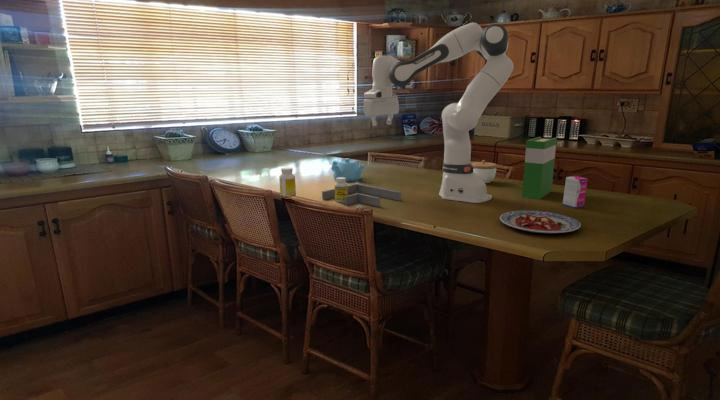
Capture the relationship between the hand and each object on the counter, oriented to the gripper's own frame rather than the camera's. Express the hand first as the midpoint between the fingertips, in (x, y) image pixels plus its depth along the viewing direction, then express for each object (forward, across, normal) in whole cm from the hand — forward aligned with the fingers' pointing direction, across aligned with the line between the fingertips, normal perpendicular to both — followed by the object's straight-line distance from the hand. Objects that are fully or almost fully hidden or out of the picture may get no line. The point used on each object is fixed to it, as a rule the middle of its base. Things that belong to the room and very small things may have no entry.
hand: (381, 125), depth 210 cm
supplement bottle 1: (+29, +40, -18) cm, 53 cm away
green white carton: (+29, -38, +57) cm, 75 cm away
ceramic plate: (+30, +7, +77) cm, 83 cm away
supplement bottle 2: (+29, +28, +2) cm, 41 cm away
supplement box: (+29, -28, +76) cm, 86 cm away
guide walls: (+29, +21, +7) cm, 37 cm away
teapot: (+29, -5, -27) cm, 40 cm away
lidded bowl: (+29, -44, +27) cm, 59 cm away
